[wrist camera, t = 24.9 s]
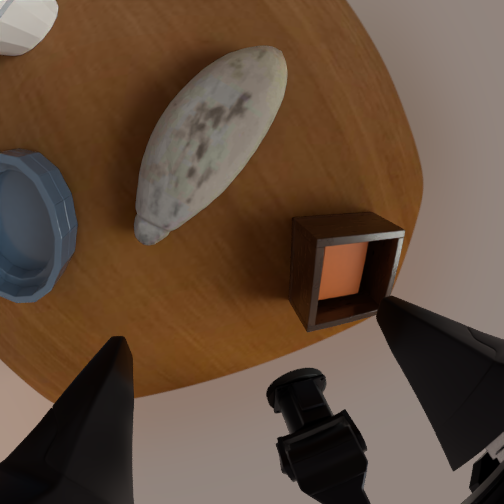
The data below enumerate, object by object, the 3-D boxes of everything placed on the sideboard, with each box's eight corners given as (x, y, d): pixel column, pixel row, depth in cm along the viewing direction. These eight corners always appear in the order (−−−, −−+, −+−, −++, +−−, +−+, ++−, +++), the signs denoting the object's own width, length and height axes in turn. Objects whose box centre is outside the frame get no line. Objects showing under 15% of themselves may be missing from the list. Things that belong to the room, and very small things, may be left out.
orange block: (347, 281, 24) (358, 293, 22) (308, 287, 23) (317, 300, 21) (355, 230, 22) (369, 239, 20) (314, 233, 21) (325, 243, 19)
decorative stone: (112, 217, 17) (98, 234, 14) (228, 32, 14) (236, 13, 11) (184, 253, 20) (183, 276, 17) (299, 78, 16) (320, 70, 13)
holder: (360, 286, 25) (385, 312, 21) (288, 300, 24) (306, 332, 20) (372, 211, 22) (405, 230, 18) (292, 217, 21) (317, 239, 17)
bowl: (94, 274, 19) (81, 299, 16) (3, 284, 17) (-14, 304, 14) (67, 132, 14) (44, 134, 11) (-27, 169, 12) (-51, 178, 9)
